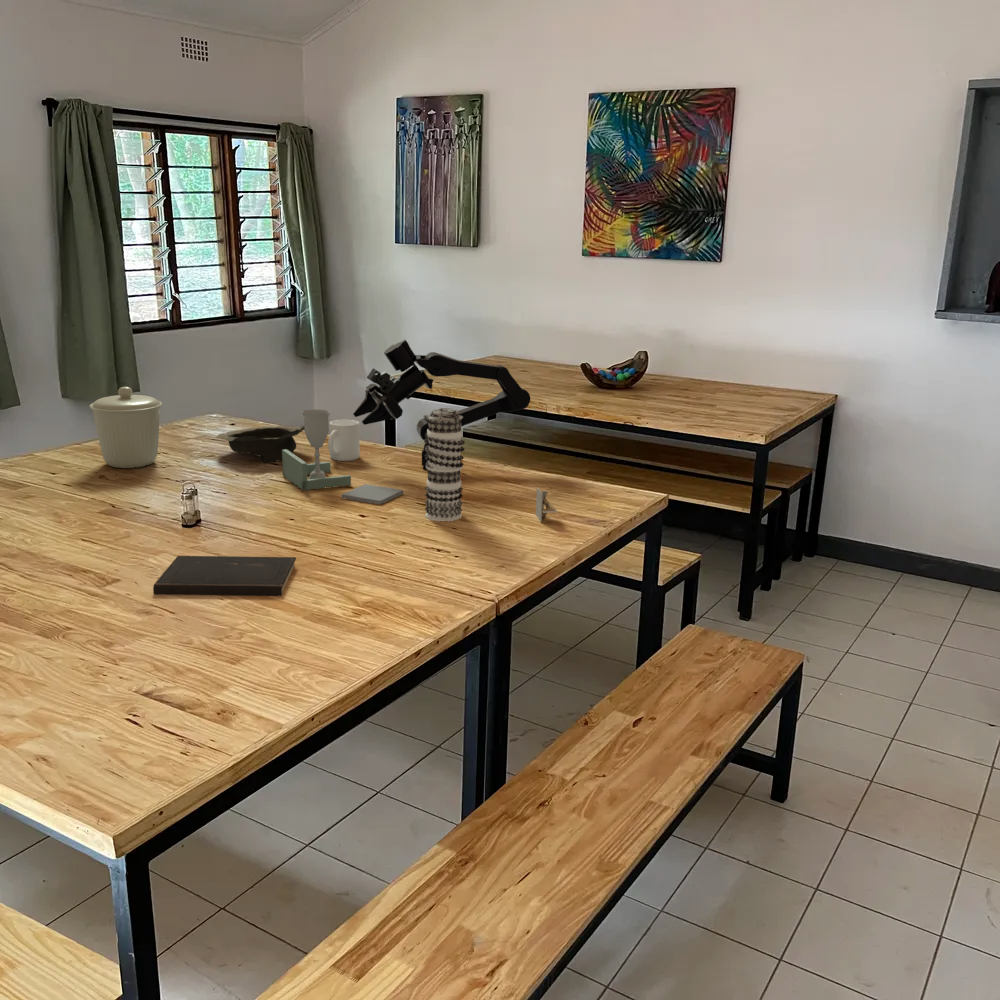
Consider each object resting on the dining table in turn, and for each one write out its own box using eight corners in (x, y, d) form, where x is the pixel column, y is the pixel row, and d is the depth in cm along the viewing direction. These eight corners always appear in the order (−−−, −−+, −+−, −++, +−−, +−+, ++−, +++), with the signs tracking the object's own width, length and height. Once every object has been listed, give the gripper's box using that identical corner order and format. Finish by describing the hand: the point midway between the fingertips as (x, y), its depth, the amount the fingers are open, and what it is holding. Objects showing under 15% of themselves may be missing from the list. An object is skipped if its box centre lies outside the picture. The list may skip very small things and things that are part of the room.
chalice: (336, 478, 255) (335, 411, 250) (323, 485, 249) (322, 415, 244) (311, 475, 258) (310, 408, 253) (298, 481, 251) (296, 413, 246)
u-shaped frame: (328, 470, 263) (328, 445, 261) (351, 485, 250) (350, 458, 248) (283, 475, 257) (282, 449, 255) (303, 490, 243) (302, 463, 241)
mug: (341, 465, 269) (341, 429, 266) (316, 462, 272) (315, 425, 269) (365, 456, 279) (365, 421, 276) (341, 453, 282) (340, 418, 279)
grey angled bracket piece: (549, 517, 230) (550, 486, 228) (556, 526, 223) (557, 495, 221) (535, 517, 229) (536, 487, 227) (541, 526, 223) (542, 495, 221)
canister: (140, 452, 276) (134, 378, 270) (180, 463, 266) (175, 386, 260) (81, 464, 262) (73, 386, 256) (121, 476, 252) (114, 395, 246)
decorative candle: (415, 515, 226) (415, 409, 219) (444, 508, 233) (445, 404, 226) (442, 524, 220) (444, 416, 213) (471, 516, 227) (473, 410, 220)
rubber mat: (365, 487, 248) (365, 484, 248) (403, 493, 244) (403, 489, 243) (341, 498, 238) (341, 494, 238) (380, 504, 234) (380, 500, 234)
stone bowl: (298, 466, 265) (294, 433, 263) (207, 470, 266) (202, 437, 263) (315, 444, 289) (312, 414, 286) (232, 448, 290) (228, 418, 287)
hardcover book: (178, 566, 192) (177, 555, 191) (296, 568, 193) (296, 557, 192) (153, 597, 176) (152, 585, 176) (281, 598, 177) (281, 587, 177)
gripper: (379, 354, 265) (333, 388, 263) (399, 366, 249) (350, 402, 247) (401, 387, 271) (356, 420, 268) (422, 401, 254) (374, 436, 252)
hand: (358, 419), depth 259 cm, fingers open, 9 cm apart
